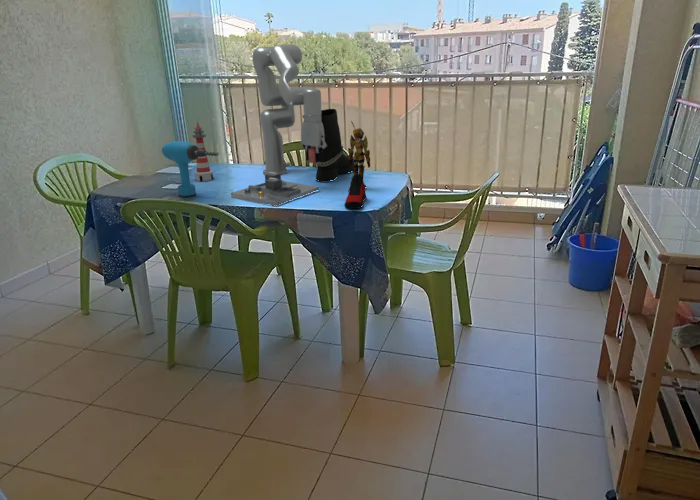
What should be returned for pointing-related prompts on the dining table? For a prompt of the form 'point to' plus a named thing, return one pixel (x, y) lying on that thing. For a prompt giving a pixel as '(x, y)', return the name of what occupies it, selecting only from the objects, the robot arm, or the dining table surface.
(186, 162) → the power drill
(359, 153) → the figurine
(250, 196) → the panel
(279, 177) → the dark grey cube
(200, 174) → the miniature lighthouse
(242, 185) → the dining table surface
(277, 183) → the grey cube
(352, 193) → the athletic shoe
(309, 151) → the lockout cap
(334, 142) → the boot
